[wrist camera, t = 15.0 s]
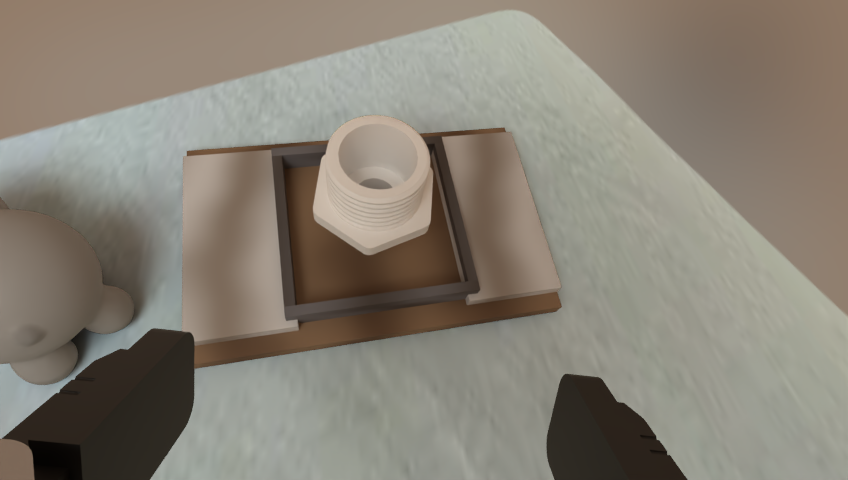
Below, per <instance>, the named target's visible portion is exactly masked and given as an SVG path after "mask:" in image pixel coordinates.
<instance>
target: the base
mask: <svg viewBox="0 0 848 480" xmlns="http://www.w3.org/2000/svg"><path fill="white" fill-rule="evenodd" d="M420 136H421V137H422V138H423V140H424V141H425V143H426V145H427V147H428V150H429V154H430V167H431V168H432V170H433V187H432V206H431V221H430V225H429V228H428V231H427V232H426V233H425V234H423V235H421V236H418V237H416V238H413V239H411V240H408V241H406V242H403V243H401V244H398V245H396V246H393V247H391V248H388V249H386V250H383V251H381V252H378V253H376V254H373V255H365V254H363V253H362V252H360V251H359V250H357V249H356V248H354V247H353V246H351V245H350V244H348V243H347V242H345V241H344V240H342V239H341V238H339V237H338V236H336V235H335V234H333V233H332V232H330V231H329V230H327V229H326V228H324V227H323V226H321V225H320V224H318V223H317V222H316V221H315V219H314V214H313V204H314V198H315V192H316V187H317V181H318V175H319V169H320V164H321V159H322V157H323V156H324V155H325V154H326V150H327V145H328V142H329V141H316V142H302V143H289V144H275V145H261V146H248V147H234V148H220V149H207V150H193V151H187V156H183V267H182V331H183V332H190V333H192V335H193V337H194V344H195V352H194V369H196V368H202V367H208V366H215V365H221V364H227V363H234V362H240V361H246V360H252V359H259V358H265V357H271V356H278V355H284V354H290V353H297V352H303V351H309V350H316V349H322V348H328V347H335V346H341V345H347V344H354V343H360V342H366V341H373V340H379V339H385V338H392V337H398V336H404V335H411V334H417V333H423V332H430V331H436V330H442V329H448V328H455V327H461V326H467V325H474V324H480V323H486V322H493V321H499V320H505V319H512V318H518V317H524V316H531V315H537V314H543V313H550V312H556V311H557V310H558V309H559V308H561V307H562V306H561V303H560V300H559V297H558V294H557V291H558V290H559V289H561V288H562V287H561V284H560V281H559V277H558V274H557V271H556V268H555V265H554V262H553V259H552V256H551V253H550V250H549V247H548V244H547V241H546V238H545V235H544V231H543V228H542V225H541V222H540V219H539V216H538V213H537V210H536V207H535V204H534V201H533V198H532V195H531V192H530V189H529V185H528V182H527V179H526V176H525V173H524V170H523V167H522V164H521V161H520V158H519V155H518V152H517V149H516V146H515V143H514V139H513V136H512V133H511V132H506V131H505V128H493V129H479V130H466V131H452V132H438V133H425V134H420Z"/></svg>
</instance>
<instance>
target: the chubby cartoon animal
mask: <svg viewBox="0 0 848 480" xmlns="http://www.w3.org/2000/svg"><path fill="white" fill-rule="evenodd" d="M133 314H134V303H133V300H132V298H131V297H130V295H129V294H128V293H127V292H125V291H124V290H122V289H120V288H117V287H114V286H108V285H104V284H103V277H102V269H101V265H100V262H99V260H98V257H97V255H96V253H95V251H94V250H93V248H92V247H91V245H90V244H89V243H88V242H87V241H86V239H85V238H84V237H83V236H82V235H81V234H79V233H78V232H77V231H76V230H74V229H73V228H72V227H70V226H69V225H67V224H65V223H63V222H62V221H60V220H57V219H55V218H53V217H50V216H47V215H44V214H41V213H37V212H32V211H26V210H16V209H9V208H8V207H7V205H6V203H5V202H4V201H3V200H2V199H1V198H0V364H7V363H10V365H11V367H12V369H13V370H14V372H15V373H16V374H17V375H18V376H19V377H21V378H22V379H23V380H25V381H27V382H29V383H32V384H37V385H48V384H53V383H56V382H59V381H61V380H63V379H64V378H66V377H67V376H68V375H69V374H70V373H71V371H72V370H73V369H74V367H75V365H76V362H77V359H78V351H77V348H76V346H75V344H74V343H73V342H72V341H71V339H72V338H74V337H75V336H76V335H77V334H78V333H79V332H80V331H81V330H82V329H83V328H86V329H87V330H89V331H92V332H95V333H99V334H110V333H114V332H117V331H119V330H121V329H123V328H125V327H126V326H127V325H128V324H129V323H130V321H131V320H132V318H133Z"/></svg>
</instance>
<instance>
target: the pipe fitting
mask: <svg viewBox="0 0 848 480" xmlns="http://www.w3.org/2000/svg"><path fill="white" fill-rule="evenodd" d="M432 187H433V170H432V168H431V167H430V154H429V150H428V147H427V145H426V143H425V141H424V140H423V138H422V137H421V136H420V134H419V133H418V132H417V131H416V130H414V129H413V128H412V127H411V126H409V125H408V124H406V123H404V122H402V121H400V120H397V119H395V118H392V117H387V116H381V115H369V116H362V117H358V118H355V119H352V120H350V121H348V122H346V123H345V124H343V125H342V126H340V127H339V128H338V129H337V130H336V131H335V132H334V134H333V135H332V136H331V138H330V140H329V142H328V145H327V150H326V154H325V155H324V156H323V157H322V159H321V164H320V169H319V175H318V181H317V187H316V192H315V198H314V204H313V214H314V219H315V221H316V222H317V223H318V224H320V225H321V226H323V227H324V228H326V229H327V230H329V231H330V232H332V233H333V234H335V235H336V236H338V237H339V238H341V239H342V240H344V241H345V242H347V243H348V244H350V245H351V246H353V247H354V248H356V249H357V250H359V251H360V252H362V253H363V254H365V255H373V254H376V253H378V252H381V251H383V250H386V249H388V248H391V247H393V246H396V245H398V244H401V243H403V242H406V241H408V240H411V239H413V238H416V237H418V236H421V235H423V234H425V233H426V232H427V231H428V228H429V225H430V221H431V206H432Z"/></svg>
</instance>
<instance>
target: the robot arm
mask: <svg viewBox="0 0 848 480" xmlns="http://www.w3.org/2000/svg"><path fill="white" fill-rule="evenodd" d="M194 352H195V344H194V337H193V335H192V333H190V332H183V331H174V330H165V329H156V328H154V329H151V330H150V331H148V332H147V333H146V334H145V335H144V336H143V337H142V338H141V339H139V340H138V341H137V342H136V343H135V344H134V345H133V346H132V347H131V348H129V349H128V350H125V349H119V350H117V351H115V352H113V353H111V354H109V355H106V356H104V357H102V358H100V359H98V360H95V361H94V362H93V363H91V364H90V365H89V366H88V367H87V368H85V369H84V370H83V371H82V372H81V373H79V374H78V375H77V376H76V378H75V380H71V381H70V382H69V383H68V384H66V385H65V386H64V387H63V388H62V389H60V392H59V393H56V394H54V395H53V396H52V397H51V398H50V399H49V400H47V401H46V402H45V403H44V404H43V405H41V406H40V407H39V408H38V409H37V410H35V411H34V412H33V413H32V414H31V415H29V416H28V417H27V418H26V419H25V420H24V421H22V422H21V423H20V424H19V425H18V426H16V427H15V428H14V429H13V430H12V431H10V432H9V433H8V434H7V435H6V436H4V437H3V438H2V439H0V480H150V479H151V477H152V476H153V474H154V473H155V471H156V470H157V468H158V467H159V465H160V464H161V462H162V461H163V459H164V458H165V457H166V455H167V454H168V452H169V451H170V449H171V448H172V446H173V445H174V443H175V442H176V440H177V439H178V437H179V436H180V434H181V433H182V431H183V430H184V428H185V427H186V425H187V423H188V421H189V418H190V415H191V412H192V408H193V403H194ZM547 457H548V462H549V466H550V468H551V471H552V474H553V476H554V479H555V480H687V478H686V477H685V476H684V474H683V473H682V472H681V470H680V469H679V467H678V466H677V465H676V463H675V462H674V460H673V459H672V458H671V456H670V455H667V451H666V449H665V448H664V446H663V445H662V444H661V442H660V441H659V440H657V439H656V435H655V434H654V433H653V431H652V430H651V428H650V427H649V426H648V424H647V423H646V421H645V420H644V419H643V418H642V417H641V416H639V415H638V414H637V413H636V412H634V411H633V410H632V409H631V408H629V407H628V406H627V405H626V404H624V403H619V402H617V401H616V399H615V398H614V396H613V395H612V393H611V392H610V390H609V389H608V387H607V386H606V385H605V383H604V382H603V380H602V379H601V378H599V377H591V376H582V375H572V374H565V375H564V376H563V377H562V379H561V381H560V384H559V388H558V392H557V397H556V401H555V405H554V409H553V413H552V417H551V422H550V426H549V430H548V435H547Z"/></svg>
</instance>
